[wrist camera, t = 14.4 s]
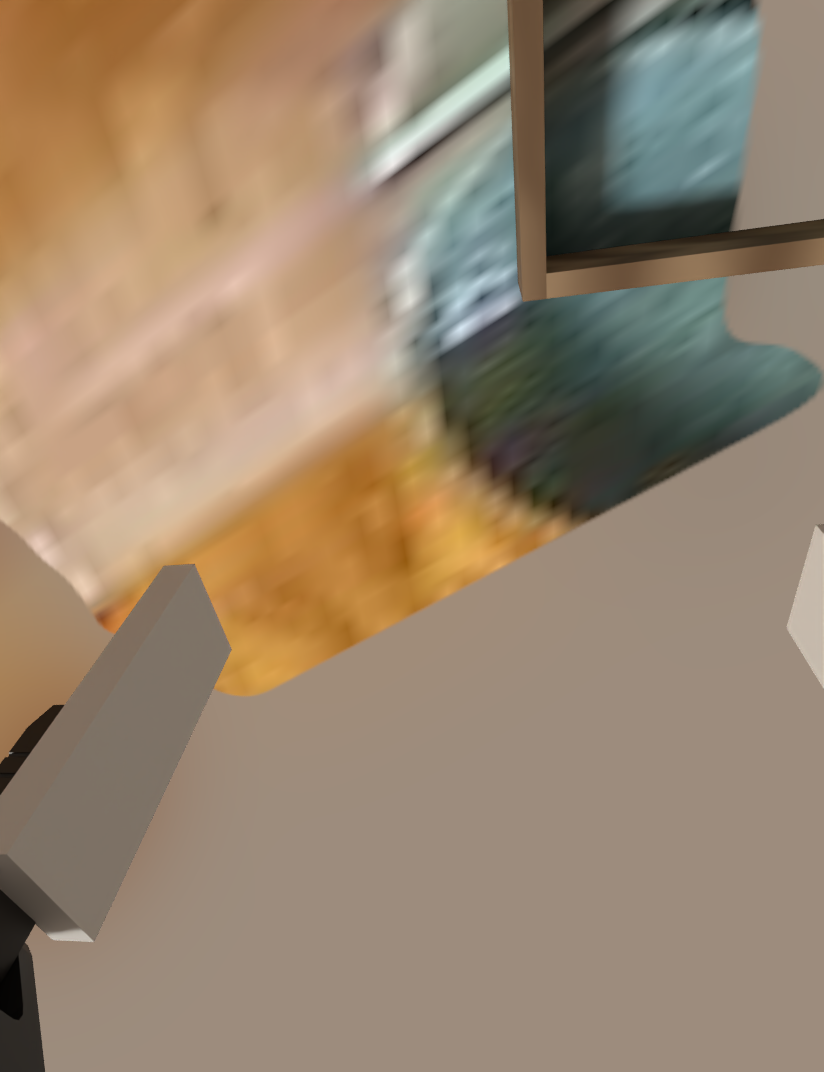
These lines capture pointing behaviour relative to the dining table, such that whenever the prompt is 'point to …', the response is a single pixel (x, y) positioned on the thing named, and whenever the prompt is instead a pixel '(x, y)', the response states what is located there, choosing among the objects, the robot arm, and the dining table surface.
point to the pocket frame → (625, 262)
